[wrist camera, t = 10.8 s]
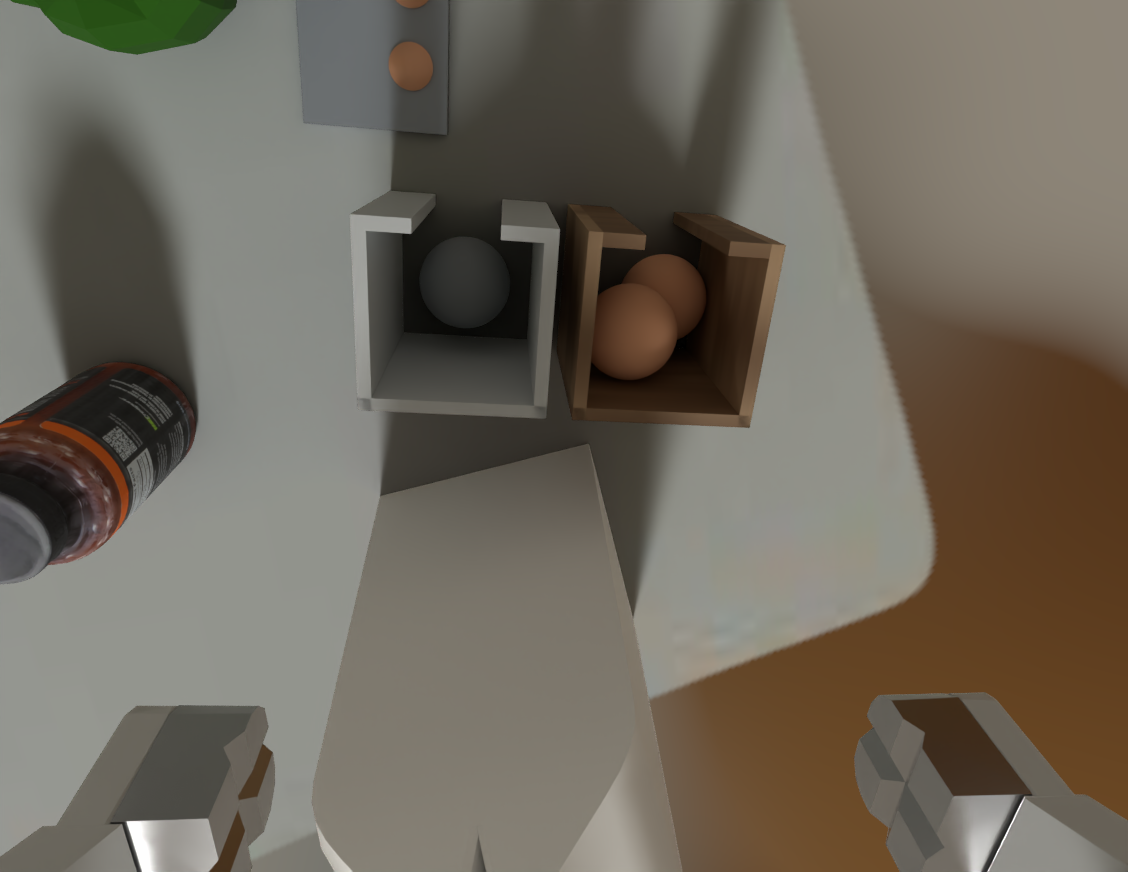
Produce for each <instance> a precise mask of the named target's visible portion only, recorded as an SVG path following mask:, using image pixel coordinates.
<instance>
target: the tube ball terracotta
mask: <svg viewBox="0 0 1128 872" xmlns="http://www.w3.org/2000/svg"><path fill="white" fill-rule="evenodd" d="M627 283H633V284H640V285H644V286H647V287H649V288H651V289H653V290H655V291H657V292H658V293H659V294H660V295H662V296H663V297H664V298H665V299H666V301H667V302H668V303H669V305H670V306H671V308H672V310H673V312H674V314H675V317H676V321H677V330H678V332H677V339H680V338H682V337H684V336H685V335H687V334H688V333H690V332H691V331H692V330H693V329H694V328H695V327H696V325H697V324H698V323H699V321H700V319H701V318H702V315H703V313H704V310H705V306H706V288H705V284H704V281H703V279H702V277H701V275H700V273H699V272H698V271H697V269H696V268H695V267H694V266H693V265H692V264H690V263H689V262H688V261H686V260H685V259H683V258H680V257H678V256H675V255H670V254H658V255H653V256H650V257H647V258H644V259H642V260H641V261H639V262H638V263H636V264H635V265H634V266H633V267H632V268H631V269H630V270H629V271H628V273H627V274H626V276H625V277H624V279H623V281H622V284H627Z"/></svg>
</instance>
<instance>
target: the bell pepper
mask: <svg viewBox="0 0 1128 872" xmlns="http://www.w3.org/2000/svg"><path fill="white" fill-rule="evenodd" d="M11 1H12V2H15V3H19V4H24V5H29V6H33V7H38V8H40V9H41V10H42V12H43V13H44V14H45V15H46V16H47V18H48V19H49V20H50V21H51V22H52V23H53V24H54V25H55V26H56V27H57V28H58V29H59V30H60V31H61V32H62V33H63V34H66V35H69V36H72V37H74V38H77V39H80V40H82V41H85V42H88V43H91V44H93V45H96V46H99V47H101V48H104V49H107V50H110V51H117V52H124V53H130V54H137V55H138V54H143V53H148V52H153V51H158V50H163V49H168V48H173V47H178V46H183V45H188V44H193V43H196V42H198V41H200V40H202V39H204V38H206V37H207V36H208V35H209V34H210V33H211V32H212V31H213V30H214V29H215V28H216V27H217V26H218V25H219V24H220V23H221V22H222V21H223V20H224V19H225V17H226V16H227V15H228V14H229V13H230V12H231V11H232V10H233V9H234V8H235V7H236V3H237V0H11Z"/></svg>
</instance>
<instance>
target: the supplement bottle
mask: <svg viewBox="0 0 1128 872" xmlns="http://www.w3.org/2000/svg"><path fill="white" fill-rule="evenodd" d="M195 432H196V423H195V416H194V413H193V410H192V408H191V406H190V404H189V402H188V400H187V398H186V397H185V395H184V394H183V392H182V391H181V390H180V389H179V388H178V387H177V386H176V385H175V384H174V383H173V382H172V381H170V380H169V379H168V378H166V377H165V376H163V375H162V374H161V373H159V372H157V371H155V370H153V369H150V368H148V367H145V366H141V365H137V364H132V363H123V362H114V363H105V364H101V365H99V366H96V367H93V368H91V369H89V370H87V371H85V372H83V373H81V374H79V375H77V376H76V377H74V378H72V379H71V380H69V381H68V382H66V383H64V384H63V385H61V386H60V387H58V388H57V389H55V390H53V391H51V392H50V393H48V394H47V395H45V396H43V397H42V398H40V399H38V400H37V401H35V402H34V403H32V404H30V405H29V406H27V407H25V408H24V409H22V410H21V411H19V412H17V413H16V414H14V415H13V416H11V417H9V418H7V419H6V420H4V421H3V422H1V423H0V584H10V583H18V582H22V581H25V580H28V579H30V578H32V577H34V576H35V575H37V574H38V573H39V572H41V571H42V570H43V569H44V568H45V567H46V566H47V565H55V564H63V563H67V562H71V561H74V560H77V559H81V558H83V557H85V556H87V555H89V554H91V553H92V552H94V551H95V550H97V549H98V548H100V547H101V546H102V545H103V544H104V543H105V542H107V541H108V540H109V539H110V538H111V536H112V535H113V534H114V533H115V532H116V531H117V530H118V529H119V528H120V527H121V526H122V525H123V524H124V523H125V522H126V521H127V520H128V518H129V517H130V516H131V515H132V514H133V513H134V512H135V511H136V510H137V509H138V508H139V506H140V505H141V504H142V503H143V502H144V501H145V500H146V499H147V498H148V497H149V496H150V494H151V493H152V492H153V491H154V490H155V489H156V488H157V487H158V486H159V485H160V484H161V483H162V481H163V480H164V479H165V478H166V477H167V476H168V475H169V474H170V473H171V472H172V471H173V469H174V468H175V467H176V466H177V465H178V464H179V463H180V462H181V461H182V460H183V459H184V457H185V456H186V455H187V453H188V452H189V450H190V449H191V446H192V444H193V441H194V437H195Z"/></svg>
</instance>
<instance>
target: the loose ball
mask: <svg viewBox="0 0 1128 872" xmlns="http://www.w3.org/2000/svg"><path fill="white" fill-rule="evenodd" d="M677 332H678V330H677V321H676V317H675V314H674V312H673V310H672V308H671V306H670V305H669V303H668V302H667V301H666V299H665V298H664V297H663V296H662V295H660V294H659V293H658V292H657V291H655V290H653V289H651V288H649V287H647V286H644V285H640V284H633V283H627V284H620V285H616V286H613V287H611V288H609V289H607V290H605V291H603V292H602V293H601V294H599V295H598V296H597V304H596V315H595V325H594V335H593V345H592V355H591V362H592V363H593V364H594V365H595V366H596V368H598V369H599V370H600V371H601V372H603V373H605V374H606V375H608V376H611V377H613V378H617V379H622V380H637V379H641V378H644V377H647V376H649V375H651V374H653V373H655V372H656V371H658V370H659V369H660V368H661V367H662V366H663V365H664V364H665V363H666V362H667V361H668V359H669V358H670V356H671V354H672V353H673V350H674V348H675V345H676V341H677Z"/></svg>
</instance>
